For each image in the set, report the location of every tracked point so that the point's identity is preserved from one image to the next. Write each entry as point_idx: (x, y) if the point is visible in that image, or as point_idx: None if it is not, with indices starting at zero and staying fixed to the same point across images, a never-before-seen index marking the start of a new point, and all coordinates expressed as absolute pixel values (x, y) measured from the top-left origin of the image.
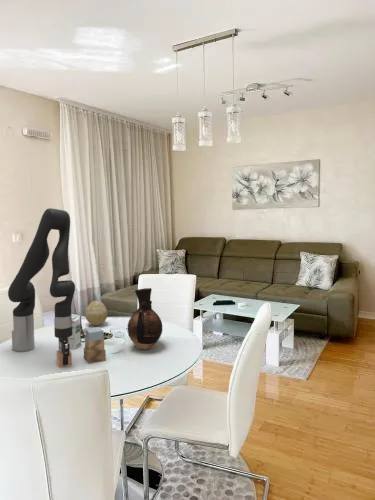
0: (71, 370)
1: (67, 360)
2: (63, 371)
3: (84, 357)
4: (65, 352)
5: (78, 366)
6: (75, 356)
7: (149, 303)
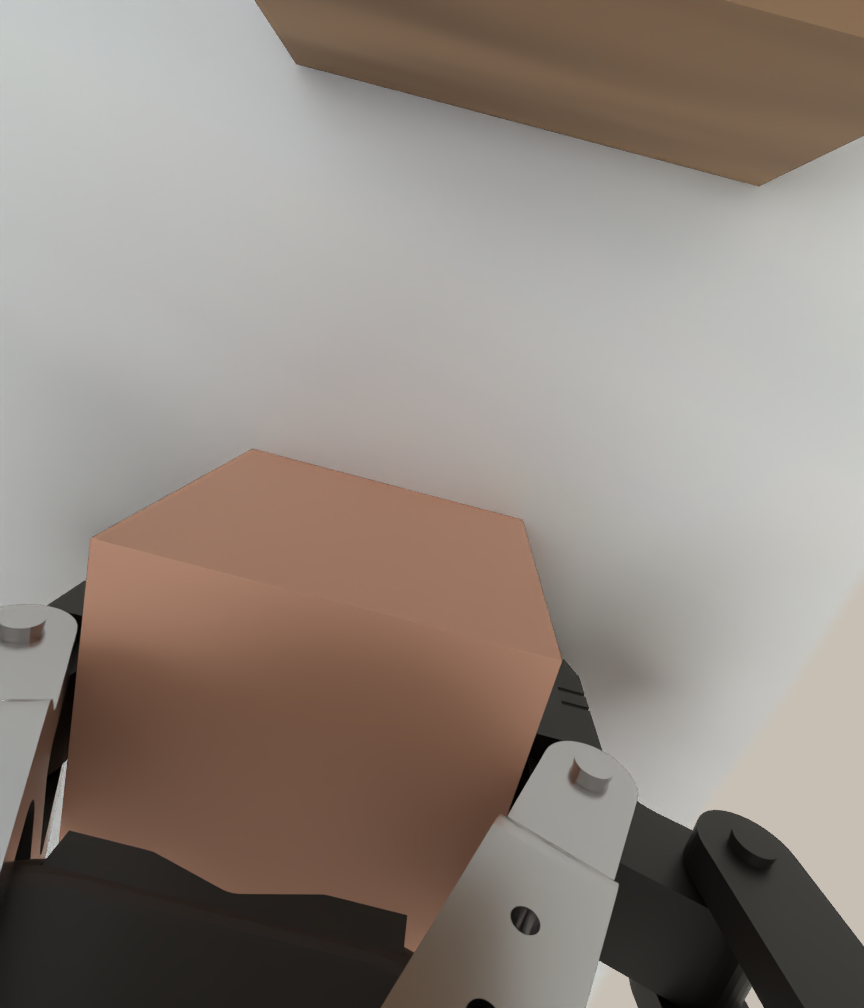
0: (787, 653)
1: (588, 713)
2: (705, 773)
3: (365, 70)
4: (366, 784)
5: (719, 453)
6: (96, 217)
7: None
